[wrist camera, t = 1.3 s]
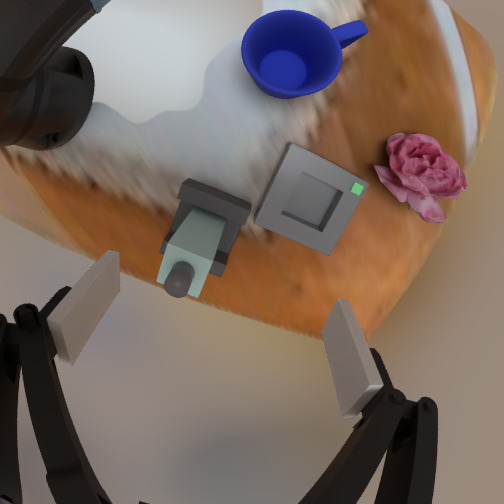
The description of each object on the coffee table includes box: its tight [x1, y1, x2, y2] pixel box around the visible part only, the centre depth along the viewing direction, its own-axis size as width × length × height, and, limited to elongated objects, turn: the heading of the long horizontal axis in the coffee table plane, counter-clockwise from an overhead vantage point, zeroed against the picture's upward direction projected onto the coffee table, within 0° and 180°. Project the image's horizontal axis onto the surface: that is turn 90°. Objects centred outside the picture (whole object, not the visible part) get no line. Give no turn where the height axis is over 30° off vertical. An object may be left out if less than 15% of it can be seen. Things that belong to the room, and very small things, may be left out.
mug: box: [241, 10, 368, 99], centre depth 22 cm, size 8×12×10 cm
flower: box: [374, 133, 467, 223], centre depth 28 cm, size 11×10×10 cm
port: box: [254, 142, 369, 256], centre depth 32 cm, size 10×10×3 cm
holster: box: [160, 179, 251, 277], centre depth 33 cm, size 8×9×4 cm
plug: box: [156, 206, 227, 298], centre depth 28 cm, size 4×4×14 cm
